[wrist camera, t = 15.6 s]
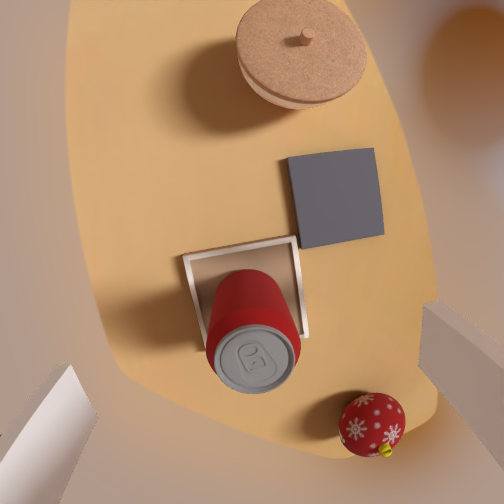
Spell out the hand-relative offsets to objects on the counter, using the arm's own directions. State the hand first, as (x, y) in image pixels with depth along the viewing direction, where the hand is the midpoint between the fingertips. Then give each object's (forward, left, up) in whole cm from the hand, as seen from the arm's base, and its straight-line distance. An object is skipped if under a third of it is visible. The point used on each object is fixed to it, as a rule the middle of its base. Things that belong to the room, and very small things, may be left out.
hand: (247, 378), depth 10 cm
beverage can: (+5, 0, -21) cm, 22 cm away
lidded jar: (-17, +8, -22) cm, 29 cm away
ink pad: (-4, +10, -22) cm, 24 cm away
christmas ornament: (+24, +12, -22) cm, 35 cm away
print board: (+5, 0, -22) cm, 22 cm away
